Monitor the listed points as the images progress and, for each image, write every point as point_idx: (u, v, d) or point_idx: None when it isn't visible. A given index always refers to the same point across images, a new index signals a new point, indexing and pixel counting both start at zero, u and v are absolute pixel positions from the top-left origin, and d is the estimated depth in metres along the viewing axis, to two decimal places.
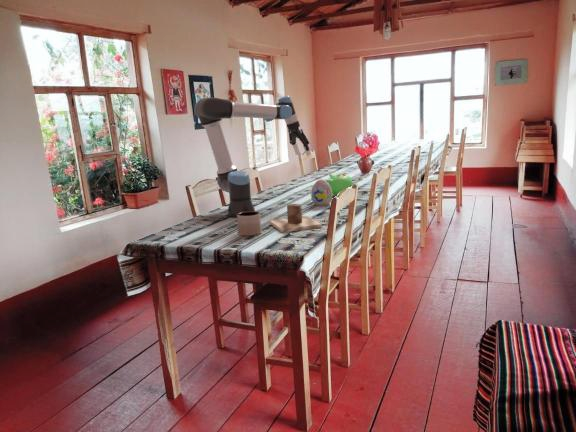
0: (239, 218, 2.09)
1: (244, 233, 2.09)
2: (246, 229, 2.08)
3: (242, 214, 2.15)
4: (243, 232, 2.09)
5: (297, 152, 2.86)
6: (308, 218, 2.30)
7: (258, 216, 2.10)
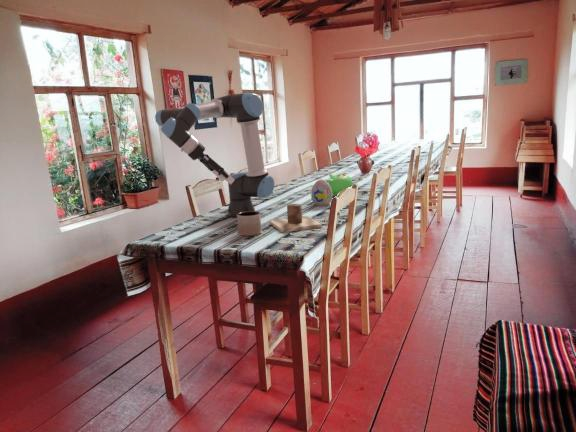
0: (239, 218, 2.09)
1: (244, 233, 2.09)
2: (246, 229, 2.08)
3: (242, 214, 2.15)
4: (243, 232, 2.09)
5: None
6: (308, 218, 2.30)
7: (258, 216, 2.10)
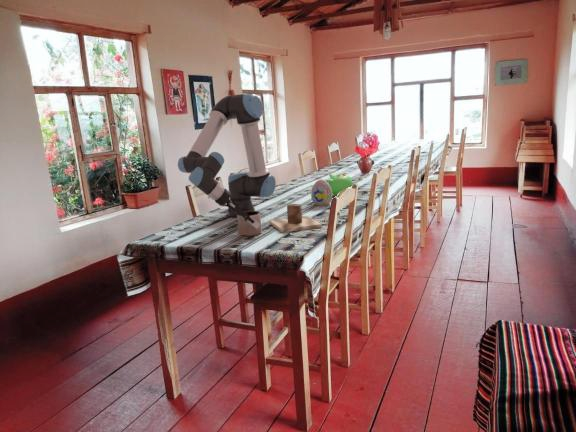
0: (239, 218, 2.09)
1: (244, 233, 2.09)
2: (246, 229, 2.08)
3: None
4: (243, 232, 2.09)
5: None
6: (308, 218, 2.30)
7: (258, 216, 2.10)
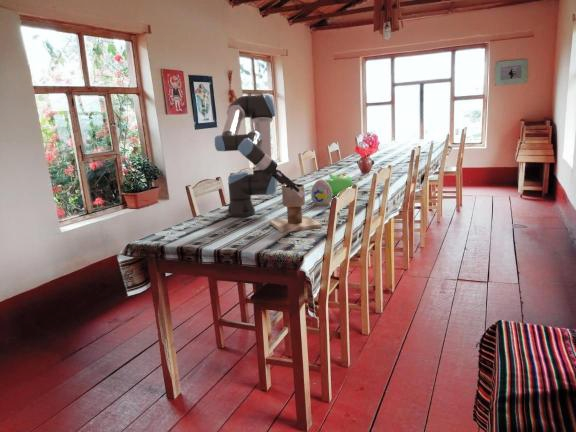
0: (284, 190, 2.17)
1: (289, 204, 2.17)
2: (291, 201, 2.16)
3: (286, 187, 2.23)
4: (288, 203, 2.17)
5: None
6: (308, 218, 2.30)
7: (302, 188, 2.18)
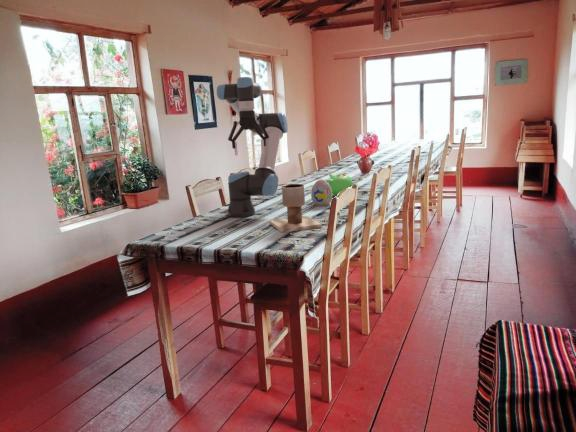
0: (284, 190, 2.17)
1: (289, 204, 2.17)
2: (291, 201, 2.16)
3: (286, 187, 2.23)
4: (288, 203, 2.17)
5: (262, 150, 2.29)
6: (308, 218, 2.30)
7: (302, 188, 2.18)
